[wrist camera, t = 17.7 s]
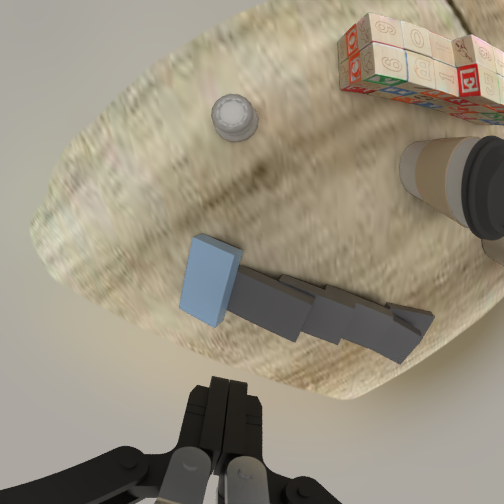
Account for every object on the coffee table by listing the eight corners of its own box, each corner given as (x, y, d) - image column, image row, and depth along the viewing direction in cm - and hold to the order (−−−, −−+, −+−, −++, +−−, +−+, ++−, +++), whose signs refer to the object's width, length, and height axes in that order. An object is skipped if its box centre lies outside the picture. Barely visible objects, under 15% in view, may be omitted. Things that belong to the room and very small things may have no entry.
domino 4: (370, 300, 34) (420, 330, 33) (349, 329, 36) (398, 356, 35) (371, 307, 32) (423, 337, 31) (349, 336, 34) (400, 364, 33)
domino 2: (283, 274, 33) (355, 301, 31) (270, 309, 35) (338, 336, 32) (278, 279, 31) (355, 309, 29) (266, 317, 33) (337, 345, 31)
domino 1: (241, 264, 32) (315, 297, 30) (230, 301, 34) (299, 333, 32) (234, 270, 31) (312, 305, 28) (223, 308, 32) (294, 342, 30)
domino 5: (384, 299, 35) (428, 309, 36) (369, 329, 37) (413, 336, 38) (390, 307, 33) (435, 316, 34) (373, 337, 35) (418, 343, 36)
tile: (243, 250, 30) (223, 320, 33) (203, 233, 31) (188, 302, 34) (234, 255, 28) (214, 328, 31) (192, 236, 29) (178, 308, 32)
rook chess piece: (238, 150, 28) (235, 152, 20) (205, 124, 27) (189, 117, 19) (267, 118, 27) (274, 108, 19) (233, 92, 26) (228, 73, 18)
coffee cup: (458, 178, 29) (544, 206, 15) (414, 220, 31) (496, 271, 17) (426, 118, 26) (519, 118, 12) (377, 160, 28) (466, 180, 14)
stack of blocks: (338, 91, 26) (391, 65, 14) (336, 41, 23) (381, -5, 12) (478, 124, 26) (544, 130, 14) (476, 82, 24) (539, 77, 12)
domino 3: (326, 284, 33) (391, 310, 31) (311, 317, 35) (373, 342, 33) (325, 290, 32) (393, 317, 30) (309, 325, 33) (374, 350, 31)
